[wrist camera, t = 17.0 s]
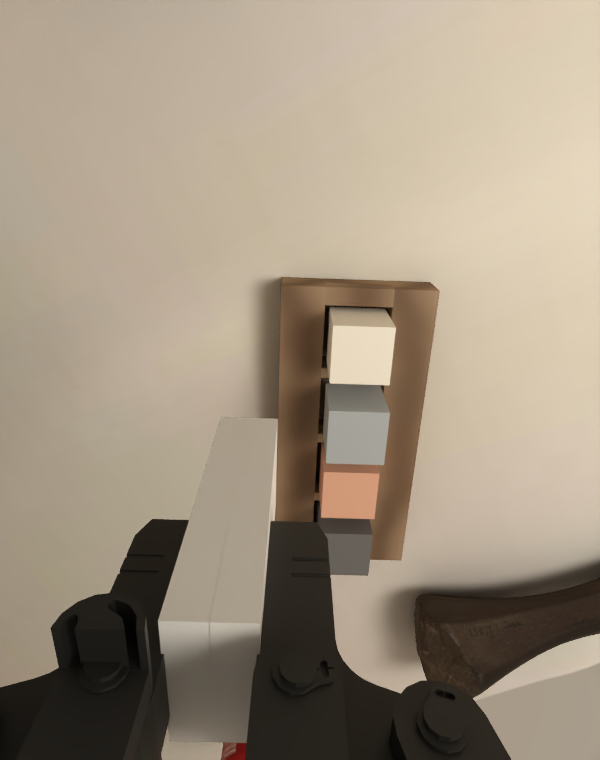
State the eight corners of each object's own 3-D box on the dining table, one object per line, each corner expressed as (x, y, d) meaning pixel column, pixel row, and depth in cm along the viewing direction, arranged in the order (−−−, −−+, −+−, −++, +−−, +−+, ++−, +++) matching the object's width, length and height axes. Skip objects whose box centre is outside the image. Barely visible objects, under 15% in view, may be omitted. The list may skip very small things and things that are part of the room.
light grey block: (323, 431, 43) (325, 463, 39) (325, 383, 42) (329, 410, 37) (375, 432, 43) (384, 465, 39) (380, 385, 42) (390, 412, 37)
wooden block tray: (276, 535, 52) (275, 556, 49) (282, 277, 41) (281, 285, 39) (395, 539, 52) (401, 560, 49) (430, 282, 42) (439, 291, 39)
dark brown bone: (402, 616, 59) (634, 535, 59) (442, 722, 52) (704, 631, 52) (394, 589, 51) (665, 494, 50) (440, 711, 44) (753, 602, 43)
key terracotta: (318, 482, 47) (320, 517, 42) (321, 440, 45) (323, 472, 40) (367, 484, 47) (374, 519, 42) (371, 442, 45) (379, 473, 41)
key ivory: (326, 359, 42) (329, 383, 37) (329, 306, 40) (333, 325, 36) (379, 361, 42) (389, 385, 38) (385, 308, 40) (395, 327, 36)
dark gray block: (315, 535, 49) (317, 574, 44) (317, 497, 47) (320, 533, 43) (361, 536, 49) (368, 575, 45) (365, 498, 47) (372, 534, 43)
